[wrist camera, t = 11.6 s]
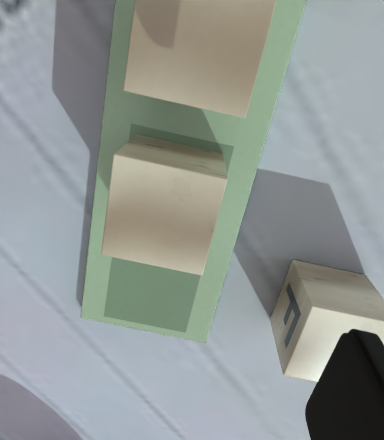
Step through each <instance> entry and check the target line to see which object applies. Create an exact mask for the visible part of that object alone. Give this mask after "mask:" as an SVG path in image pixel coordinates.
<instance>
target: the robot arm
mask: <svg viewBox="0 0 384 440" xmlns="http://www.w3.org/2000/svg"><path fill="white" fill-rule="evenodd" d="M305 416H306V422H307V426H308V430H309V434H310V438H311V440H384V344H383V342H382V341H381V339H380V337H379V336H378V335H377V334H375V333H371V332H367V331H362V330H358V329H351V330H350V331H349V332H348V333H343V334H342V335H341V336H340V338H339V340H338V342H337V344H336V346H335V348H334V350H333V352H332V354H331V356H330V358H329V360H328V362H327V364H326V366H325V368H324V370H323V372H322V374H321V376H320V378H319V380H318V382H317V384H316V386H315V388H314V390H313V392H312V394H311V396H310V398H309V400H308V402H307V405H306V411H305Z"/></svg>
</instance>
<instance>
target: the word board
mask: <svg viewBox="0 0 384 440" xmlns="http://www.w3.org/2000/svg"><path fill="white" fill-rule="evenodd" d="M306 1H307V0H277V1H276V5H275V9H274V13H273V17H272V20H271V24H270V28H269V32H268V35H267V39H266V43H265V47H264V51H263V54H262V58H261V62H260V66H259V69H258V73H257V77H256V81H255V85H254V88H253V92H252V96H251V100H250V103H249V107H248V111H247V115H246V118H241V117H236V116H232V115H228V114H223V113H219V112H214V111H210V110H206V109H201V108H197V107H192V106H188V105H184V104H179V103H175V102H170V101H166V100H162V99H157V98H153V97H149V96H144V95H140V94H135V93H131V92H127V91H124V90H123V88H124V80H125V73H126V65H127V57H128V49H129V42H130V34H131V26H132V18H133V10H134V3H135V0H115V9H114V18H113V27H112V36H111V45H110V54H109V63H108V72H107V81H106V90H105V100H104V109H103V118H102V127H101V136H100V145H99V154H98V163H97V172H96V181H95V191H94V200H93V209H92V218H91V227H90V236H89V245H88V254H87V263H86V273H85V282H84V291H83V300H82V309H81V318H84V319H89V320H94V321H99V322H104V323H109V324H114V325H119V326H124V327H129V328H134V329H139V330H144V331H149V332H154V333H159V334H163V335H168V336H173V337H178V338H183V339H188V340H193V341H198V342H203V343H206V342H207V338H208V335H209V331H210V328H211V325H212V321H213V318H214V314H215V311H216V308H217V304H218V301H219V297H220V294H221V290H222V287H223V284H224V280H225V277H226V273H227V270H228V267H229V263H230V260H231V256H232V253H233V250H234V246H235V243H236V239H237V236H238V233H239V229H240V226H241V222H242V219H243V215H244V212H245V209H246V205H247V202H248V198H249V195H250V192H251V188H252V185H253V181H254V178H255V175H256V171H257V168H258V164H259V161H260V158H261V154H262V151H263V147H264V144H265V141H266V137H267V134H268V130H269V127H270V123H271V120H272V117H273V113H274V110H275V106H276V103H277V100H278V96H279V93H280V89H281V86H282V83H283V79H284V76H285V72H286V69H287V66H288V62H289V59H290V55H291V52H292V48H293V45H294V42H295V38H296V35H297V31H298V28H299V25H300V21H301V18H302V14H303V11H304V8H305V4H306ZM136 134H138V135H142V136H147V137H151V138H156V139H160V140H165V141H169V142H174V143H178V144H183V145H187V146H192V147H196V148H201V149H205V150H210V151H214V152H219V153H223V154H224V160H225V167H226V173H227V179H228V180H227V184H226V188H225V192H224V196H223V200H222V203H221V207H220V211H219V215H218V219H217V222H216V226H215V230H214V234H213V238H212V241H211V245H210V249H209V253H208V257H207V260H206V264H205V268H204V272H203V275H197V274H192V273H187V272H182V271H177V270H173V269H168V268H163V267H158V266H153V265H149V264H144V263H139V262H134V261H129V260H124V259H120V258H115V257H110V256H105V255H101V250H102V242H103V234H104V226H105V218H106V210H107V202H108V194H109V186H110V178H111V170H112V163H113V155H114V154H115V153H116V152H117V151H118V150H119V149H120V148H121V147H122V146H123V145H125V144H126V143H127V142H128V141H129V140H130V139H131V138H132V137H133V136H135V135H136Z"/></svg>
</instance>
